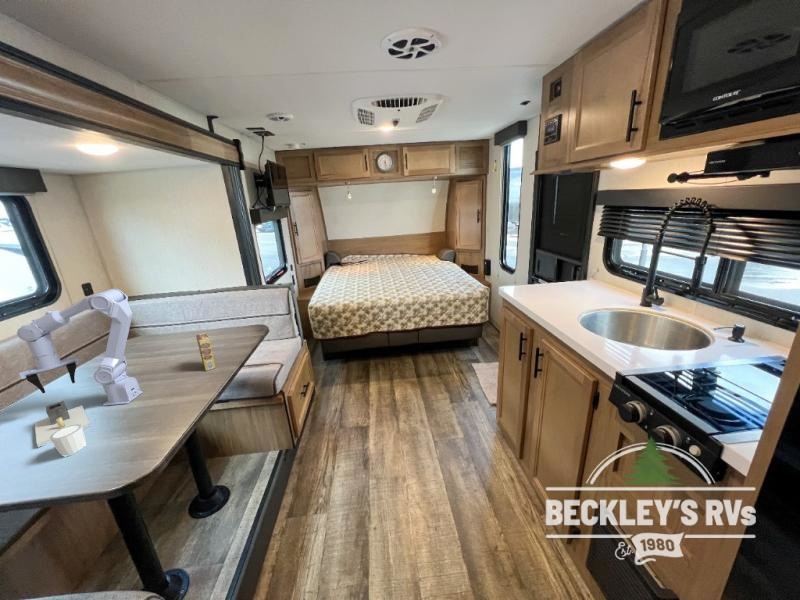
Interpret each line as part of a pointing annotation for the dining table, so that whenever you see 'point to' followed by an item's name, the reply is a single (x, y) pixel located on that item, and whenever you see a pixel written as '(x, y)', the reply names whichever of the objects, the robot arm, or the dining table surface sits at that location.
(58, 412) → the grey hollow block
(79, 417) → the housing base
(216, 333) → the dining table surface
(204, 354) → the candy box
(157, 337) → the dining table surface
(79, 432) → the white faceted cup
